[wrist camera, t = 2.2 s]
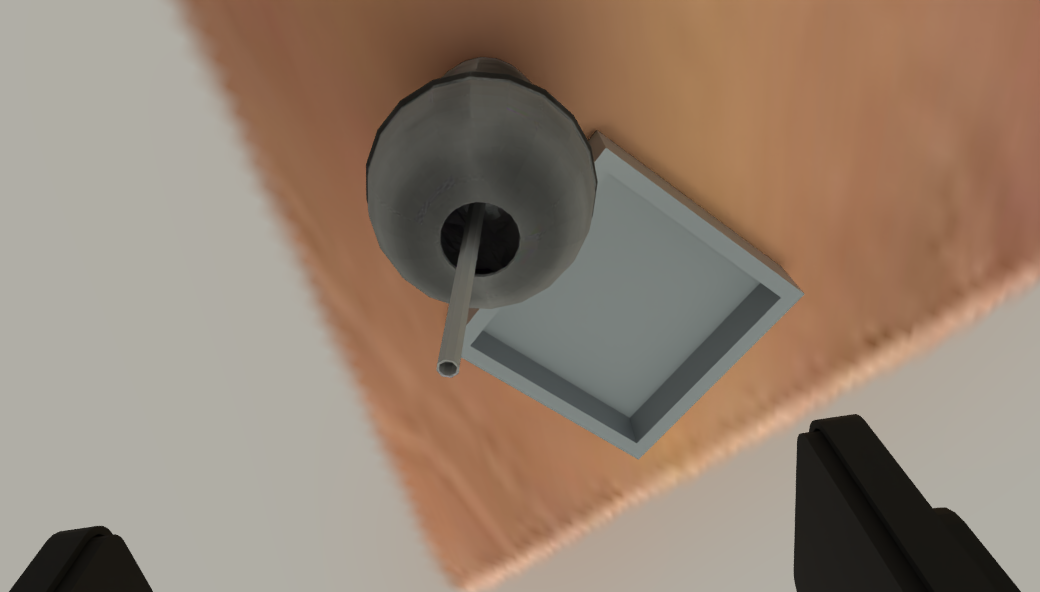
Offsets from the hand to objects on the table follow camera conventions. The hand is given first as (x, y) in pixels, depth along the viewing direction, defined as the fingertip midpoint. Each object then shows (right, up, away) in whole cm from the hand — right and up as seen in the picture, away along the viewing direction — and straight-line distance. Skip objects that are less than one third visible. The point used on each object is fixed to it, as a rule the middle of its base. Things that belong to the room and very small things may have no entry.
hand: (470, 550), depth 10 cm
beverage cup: (-1, +12, +23) cm, 26 cm away
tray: (+6, +4, +27) cm, 28 cm away
